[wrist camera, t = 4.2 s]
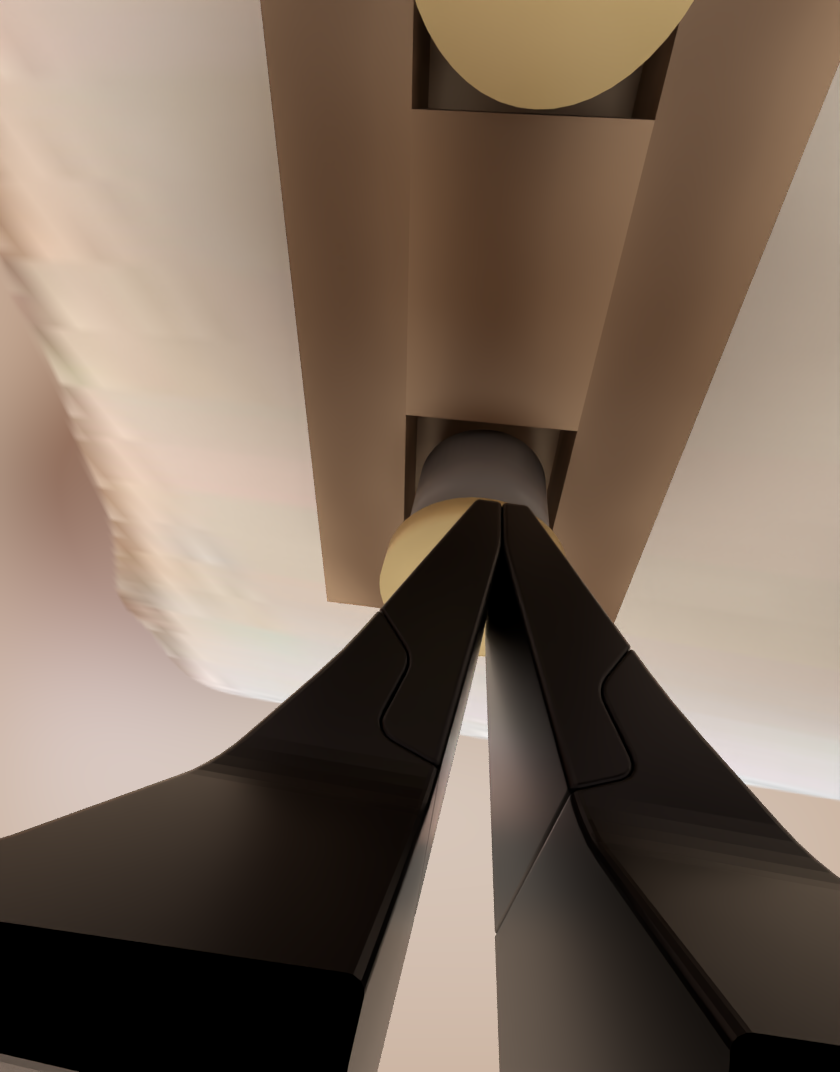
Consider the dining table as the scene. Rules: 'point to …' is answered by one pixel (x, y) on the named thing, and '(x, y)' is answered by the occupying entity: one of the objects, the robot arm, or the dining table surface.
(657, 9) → the outer button
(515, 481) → the inner button
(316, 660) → the dining table surface
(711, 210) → the socket block
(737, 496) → the dining table surface
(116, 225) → the dining table surface
